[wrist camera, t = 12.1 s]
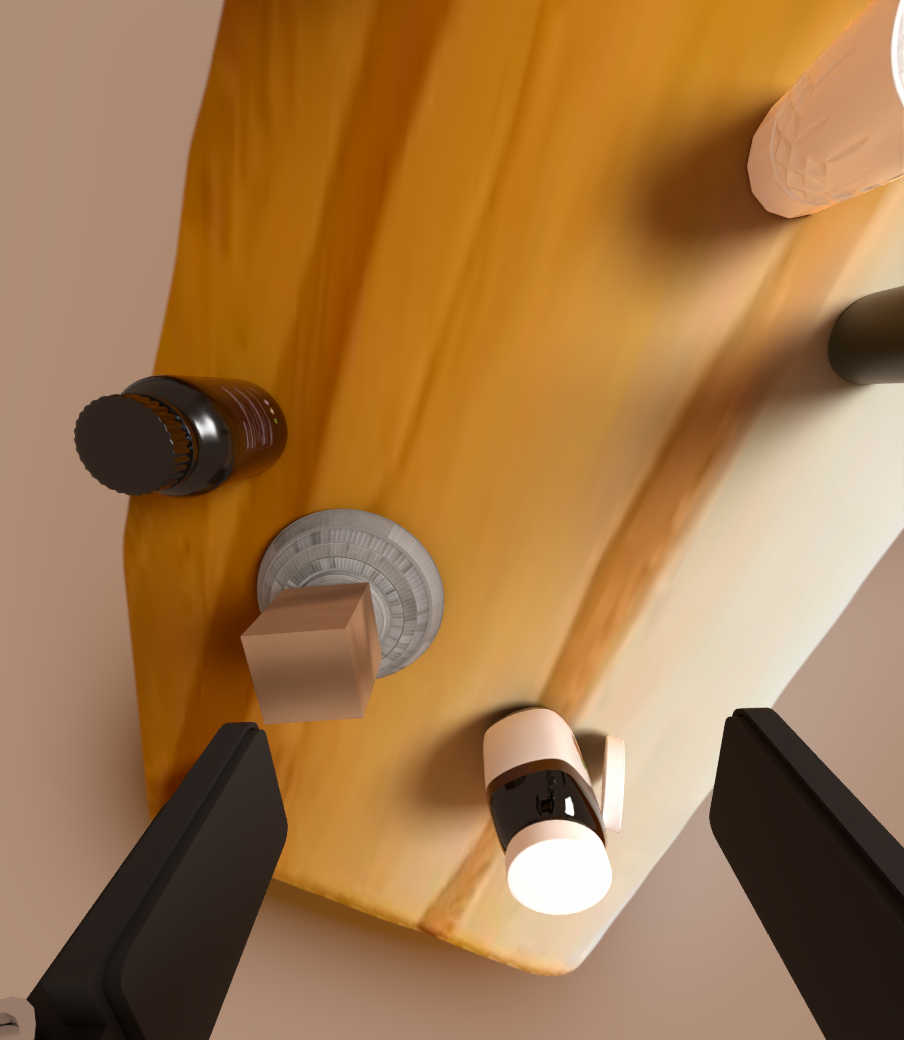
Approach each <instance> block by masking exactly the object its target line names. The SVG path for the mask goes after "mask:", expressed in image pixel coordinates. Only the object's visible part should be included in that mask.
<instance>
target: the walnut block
mask: <svg viewBox="0 0 904 1040" xmlns="http://www.w3.org/2000/svg"><path fill="white" fill-rule="evenodd" d="M240 637H241V641H242V644H243V648H244V651H245V655H246V659H247V662H248V666H249V669H250V673H251V677H252V680H253V684H254V687H255V691H256V695H257V698H258V702H259V705H260V709H261V713H262V716H263V720H264V723H265V724H277V723H293V722H308V721H324V720H340V719H356V718H363V717H364V714H365V710H366V707H367V704H368V701H369V698H370V694H371V691H372V688H373V685H374V682H375V679H376V675H377V672H378V669H379V666H380V663H381V660H382V654H381V648H380V642H379V636H378V631H377V625H376V619H375V613H374V608H373V602H372V596H371V590H370V584H369V582H363V583H351V584H339V585H327V586H315V587H303V588H291V589H284V590H283V591H282V592H281V593H280V594H279V595H278V596H277V597H276V598H275V599H274V601H273V602H272V603H271V604H270V605H269V606H268V607H267V608H266V609H265V610H264V611H263V612H262V614H261V615H260V616H259V617H258V618H257V619H256V620H255V621H254V622H253V623H252V624H251V626H250V627H249V628H248V629H247V630H246V631H245V632H244V633H243V634H242V635H241V636H240Z"/></svg>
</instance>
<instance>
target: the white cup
mask: <svg viewBox="0 0 904 1040" xmlns="http://www.w3.org/2000/svg"><path fill="white" fill-rule="evenodd" d="M747 169H748V174H749V180H750V185H751V190H752V193H753V194H754V196H755V197H756V198H757V199H758V201H759V202H760V203H761V204H762V206H763V207H764V208H765V209H766V210H767V211H768V212H771V213H774V214H777V215H780V216H783V217H786V218H795V217H800V216H805V215H810V214H815V213H817V212H819V211H822V210H824V209H826V208H828V207H830V206H832V205H834V204H837V203H839V202H842V201H845V200H848V199H851V198H853V197H856V196H859V195H861V194H864V193H866V192H868V191H870V190H872V189H874V188H877V187H879V186H882V185H884V184H887V183H889V182H892V181H894V180H897V179H899V178H901V177H903V176H904V0H872V1H871V2H870V3H869V4H868V5H867V6H866V7H865V8H864V9H863V10H862V11H861V12H860V13H859V14H858V15H857V16H856V17H855V18H854V19H853V20H852V21H851V23H850V24H849V25H848V26H847V27H846V28H845V29H844V30H843V31H842V32H841V33H840V34H839V35H838V36H837V37H836V38H835V40H834V41H833V42H832V43H831V44H830V45H829V46H828V48H827V49H826V50H825V51H824V52H823V53H822V54H821V55H820V56H819V57H818V58H817V59H816V60H815V61H814V62H813V63H812V64H811V65H810V66H809V68H808V69H807V70H806V71H805V72H804V73H803V75H802V76H801V77H800V78H799V79H798V81H797V82H796V83H795V84H794V85H793V86H792V87H791V88H790V89H789V90H788V91H787V92H786V93H785V94H784V95H783V96H782V97H781V98H780V99H779V100H778V101H777V102H776V103H775V104H774V105H773V106H772V108H771V109H770V110H769V112H768V113H767V115H766V117H765V118H764V120H763V121H762V123H761V125H760V126H759V128H758V130H757V131H756V133H755V134H754V136H753V140H752V145H751V149H750V154H749V159H748V164H747Z"/></svg>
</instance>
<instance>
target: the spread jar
mask: <svg viewBox="0 0 904 1040" xmlns="http://www.w3.org/2000/svg"><path fill="white" fill-rule="evenodd" d="M483 758H484V776H485V788H486V795H487V802H488V807H489V812H490V816H491V820H492V823H493V826H494V829H495V832H496V835H497V838H498V841H499V843H500V846H501V848H502V850H503V853H504V855H505V865H506V876H507V883H508V887H509V889H510V892H511V894H512V895H513V896H514V897H515V898H516V900H517V901H519V902H520V903H521V904H522V905H524V906H525V907H527V908H529V909H531V910H534V911H537V912H539V913H544V914H549V915H565V914H572V913H576V912H580V911H582V910H585V909H588V908H589V907H591V906H593V905H594V904H596V903H597V902H598V901H600V900H601V899H602V898H603V897H604V895H605V894H606V893H607V891H608V889H609V887H610V885H611V880H612V871H611V867H610V863H609V860H608V857H607V854H606V849H607V834H606V829H607V830H610V831H614V832H617V833H619V831H620V826H621V819H622V808H623V792H624V741H623V739H619V738H615V737H611V736H607V737H606V742H605V752H604V764H603V778H602V796H601V811H600V808H599V805H598V802H597V799H596V796H595V793H594V790H593V787H592V784H591V781H590V778H589V775H588V772H587V768H586V765H585V762H584V760H583V757H582V754H581V751H580V748H579V746H578V743H577V741H576V738H575V736H574V734H573V732H572V730H571V729H570V727H569V725H568V724H567V722H566V721H565V720H564V719H563V718H562V717H561V716H560V715H559V714H558V713H557V712H556V711H554V710H552V709H550V708H546V707H530V708H524V709H520V710H517V711H514V712H512V713H509V714H507V715H506V716H504V717H502V718H501V719H499V720H498V721H496V722H495V723H494V724H492V725H491V726H490V727H489V729H488V730H487V731H486V733H485V736H484V741H483Z"/></svg>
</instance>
